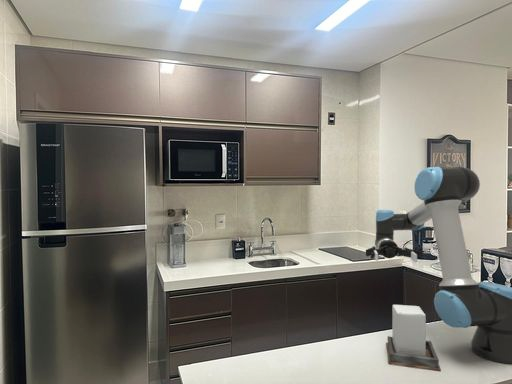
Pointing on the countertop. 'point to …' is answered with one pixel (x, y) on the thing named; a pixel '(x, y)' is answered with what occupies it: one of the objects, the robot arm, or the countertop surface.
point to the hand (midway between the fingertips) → (396, 257)
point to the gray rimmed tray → (414, 358)
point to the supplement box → (408, 330)
